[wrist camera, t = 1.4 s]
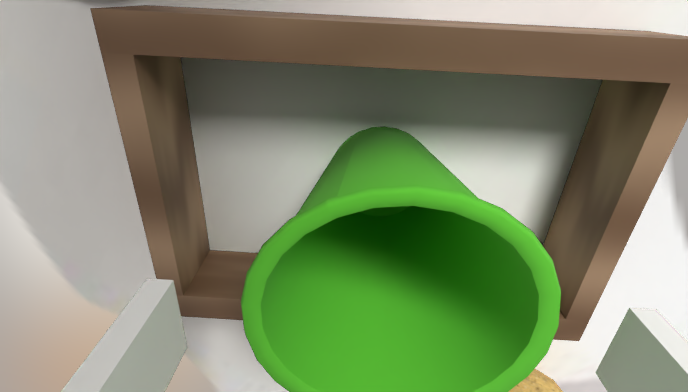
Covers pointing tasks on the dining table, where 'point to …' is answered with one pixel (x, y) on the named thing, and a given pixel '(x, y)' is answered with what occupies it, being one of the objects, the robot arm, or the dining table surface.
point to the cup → (399, 281)
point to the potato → (536, 384)
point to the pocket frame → (399, 53)
